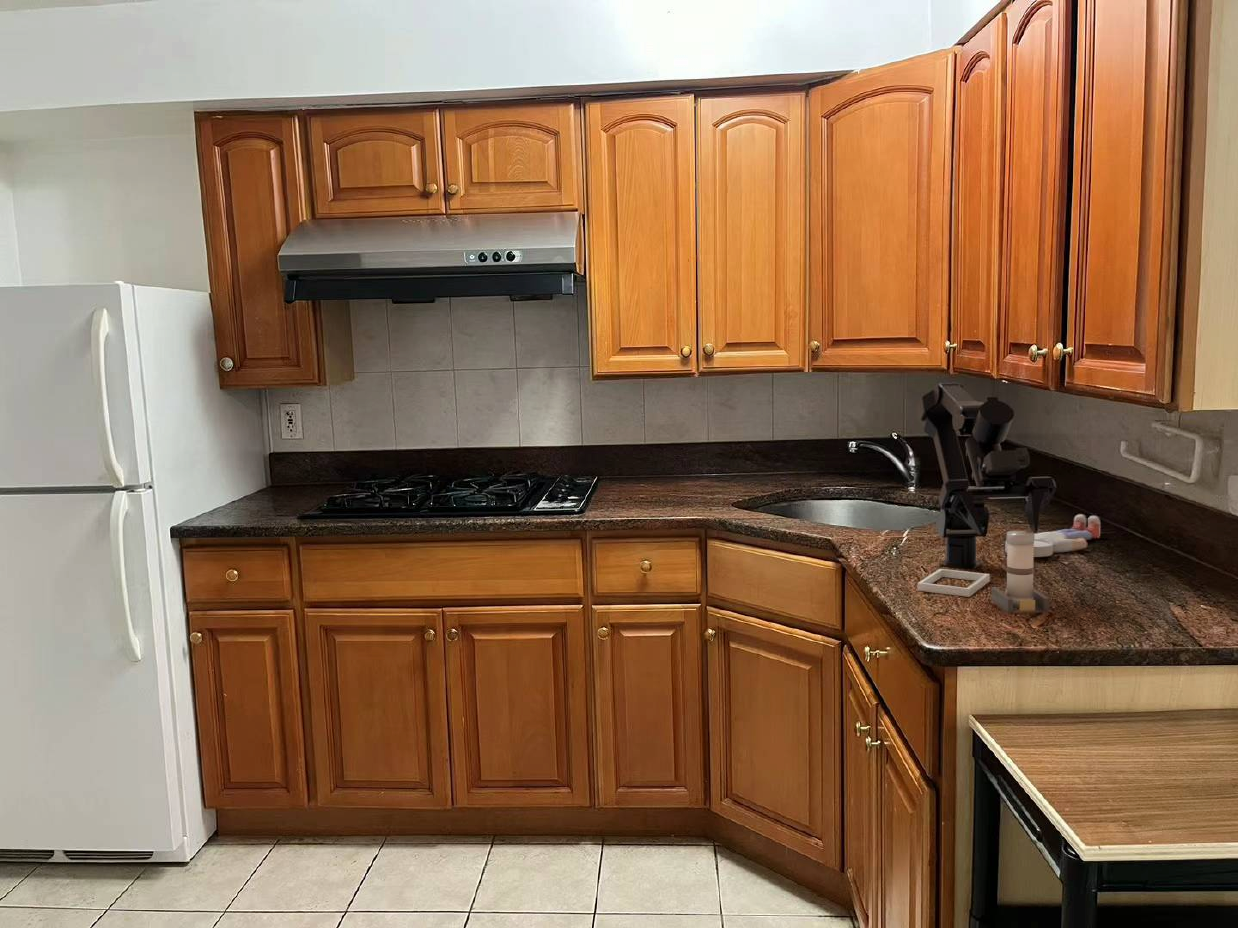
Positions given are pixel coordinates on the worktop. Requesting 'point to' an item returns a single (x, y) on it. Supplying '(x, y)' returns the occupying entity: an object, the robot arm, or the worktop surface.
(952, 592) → the parts tray
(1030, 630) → the worktop surface
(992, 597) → the fuse holder
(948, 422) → the robot arm
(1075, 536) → the toy
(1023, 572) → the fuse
